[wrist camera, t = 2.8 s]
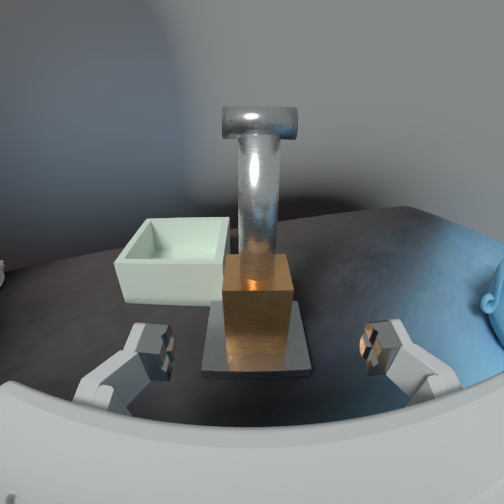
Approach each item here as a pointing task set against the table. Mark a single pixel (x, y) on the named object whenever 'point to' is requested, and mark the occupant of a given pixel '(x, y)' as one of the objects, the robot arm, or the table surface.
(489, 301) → the decorative pot
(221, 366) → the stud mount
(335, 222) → the table surface
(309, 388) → the table surface
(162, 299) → the bin
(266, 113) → the strut
